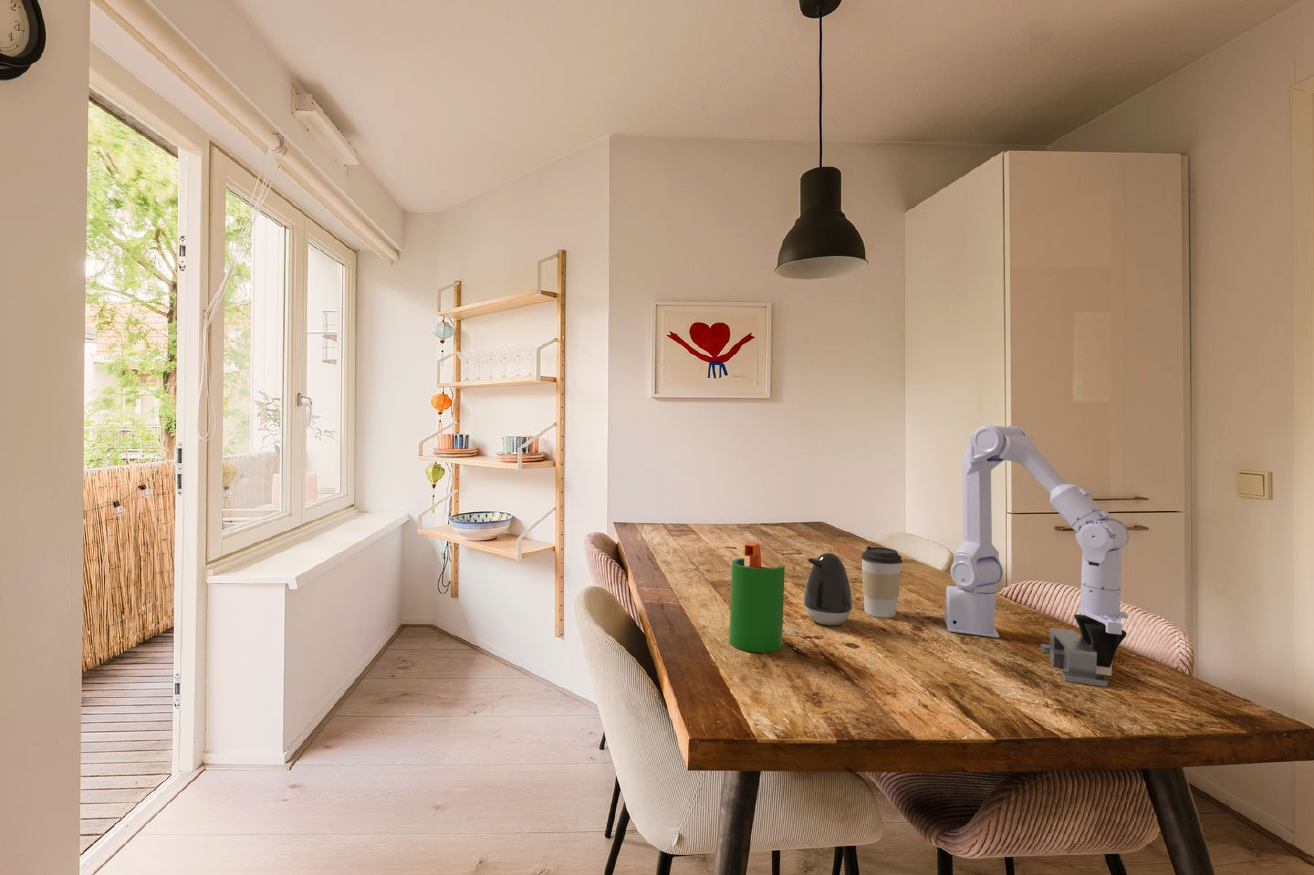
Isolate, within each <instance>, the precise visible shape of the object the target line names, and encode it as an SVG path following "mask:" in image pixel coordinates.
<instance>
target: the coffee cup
mask: <svg viewBox="0 0 1314 875" xmlns="http://www.w3.org/2000/svg"><path fill="white" fill-rule="evenodd" d="M860 558H861V565H862V567H861V578H862V579H861V580H862V593H863V602H864V603H863V606H864V609H863V610H864V613H865V614H867V615H869V616H872V617H876V618H877V617H878V618H883V619H885V618H886V619H888V618H894V617H895V616H896V615H897V614H896V613H897V605H898V598H899V595H900V594H899V593H900V586H901V578H902V564H903V559H902V556H901V555H900V554H899V552H898V551H897V550H896V549H893V548H888V547H887V548H886V547H878V546H877V547H875V546H874V547H872V546H869V545H868V546H867V547H866V549H865V551H863V552H862V554H861V557H860Z"/></svg>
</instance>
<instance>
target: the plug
mask: <svg viewBox="0 0 1314 875" xmlns="http://www.w3.org/2000/svg"><path fill="white" fill-rule="evenodd" d="M1090 646H1091V647H1092V645H1090ZM1063 661H1064V650H1056V649H1050V654H1049V663H1050V664H1051V665H1052V667H1054V668H1055V667H1056V668H1062V669H1063ZM1112 666H1113V663H1112V664H1111V666H1110V668H1108V667H1101V666H1096V675H1101V676H1109V677H1110V676H1111V677H1112V670H1113V669H1112Z"/></svg>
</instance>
